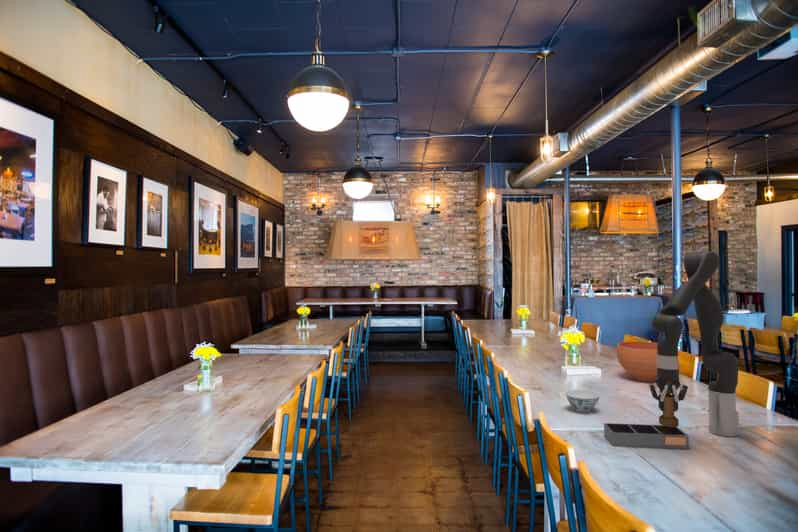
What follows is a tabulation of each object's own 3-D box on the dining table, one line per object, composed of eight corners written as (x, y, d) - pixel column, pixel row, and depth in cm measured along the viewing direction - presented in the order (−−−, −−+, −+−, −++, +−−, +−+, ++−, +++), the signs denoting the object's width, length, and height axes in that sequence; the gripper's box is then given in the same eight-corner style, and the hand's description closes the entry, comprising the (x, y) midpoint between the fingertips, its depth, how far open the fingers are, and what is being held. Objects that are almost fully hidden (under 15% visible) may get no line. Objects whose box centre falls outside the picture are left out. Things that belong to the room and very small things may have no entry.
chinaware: (603, 415, 213) (602, 399, 213) (568, 414, 216) (568, 397, 216) (595, 406, 228) (595, 390, 228) (563, 404, 231) (563, 389, 231)
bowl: (606, 377, 285) (605, 343, 285) (639, 371, 298) (639, 339, 298) (650, 388, 258) (650, 351, 258) (685, 381, 271) (685, 346, 271)
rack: (675, 438, 185) (675, 425, 185) (689, 449, 173) (688, 436, 173) (604, 435, 189) (604, 423, 189) (612, 446, 177) (612, 433, 177)
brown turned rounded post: (668, 427, 176) (667, 380, 176) (655, 422, 182) (654, 376, 182) (682, 425, 178) (681, 378, 178) (668, 420, 184) (667, 375, 184)
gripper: (683, 364, 182) (683, 408, 182) (644, 364, 185) (645, 407, 185) (692, 369, 175) (692, 414, 175) (651, 368, 177) (652, 413, 177)
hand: (668, 410), depth 180 cm, fingers closed on brown turned rounded post, 4 cm apart
